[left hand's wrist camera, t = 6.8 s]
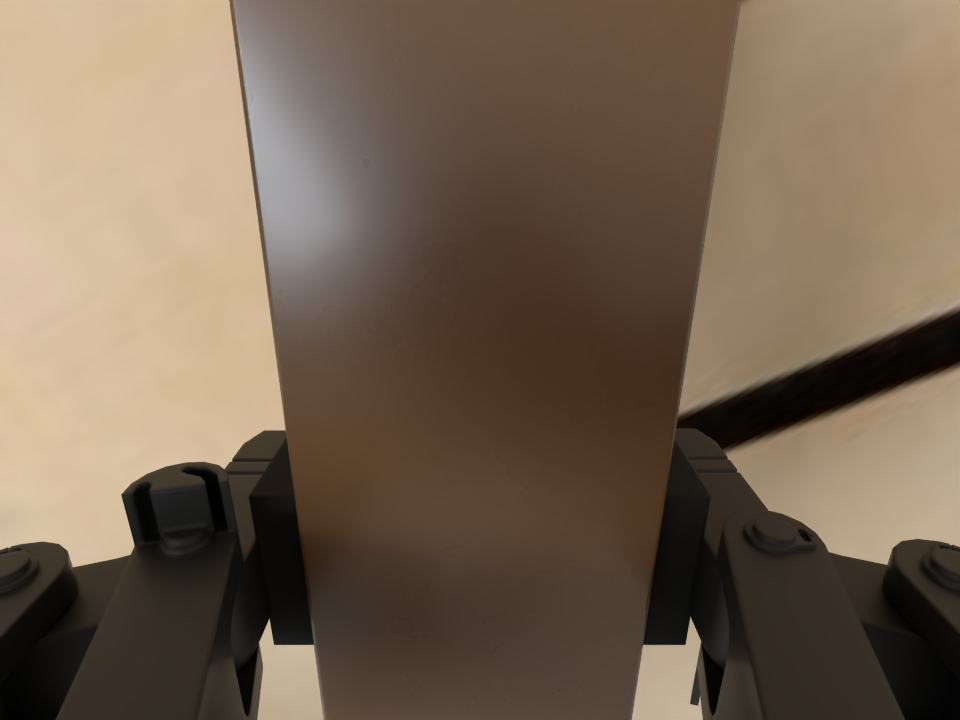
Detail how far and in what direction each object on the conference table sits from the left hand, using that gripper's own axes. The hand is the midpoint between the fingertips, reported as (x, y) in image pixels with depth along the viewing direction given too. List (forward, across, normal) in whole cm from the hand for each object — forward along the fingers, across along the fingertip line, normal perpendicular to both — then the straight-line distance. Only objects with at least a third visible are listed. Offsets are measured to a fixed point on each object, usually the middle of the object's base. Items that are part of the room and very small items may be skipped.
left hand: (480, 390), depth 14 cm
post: (0, 0, -25) cm, 25 cm away
